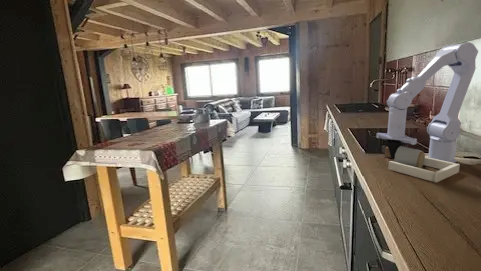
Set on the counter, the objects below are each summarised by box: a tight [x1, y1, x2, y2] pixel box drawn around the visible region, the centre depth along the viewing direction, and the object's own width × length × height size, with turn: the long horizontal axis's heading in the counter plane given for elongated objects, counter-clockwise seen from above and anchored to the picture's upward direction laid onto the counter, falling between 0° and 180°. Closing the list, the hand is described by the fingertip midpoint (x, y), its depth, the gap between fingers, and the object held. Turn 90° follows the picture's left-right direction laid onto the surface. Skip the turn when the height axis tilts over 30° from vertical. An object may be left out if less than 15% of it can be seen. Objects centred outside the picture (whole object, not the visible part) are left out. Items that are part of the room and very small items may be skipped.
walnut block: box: [384, 145, 391, 159], centre depth 112 cm, size 4×4×4 cm
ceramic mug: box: [393, 145, 426, 169], centre depth 99 cm, size 11×8×8 cm
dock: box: [387, 156, 460, 183], centre depth 95 cm, size 15×16×3 cm
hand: (393, 158), depth 103 cm, fingers closed
